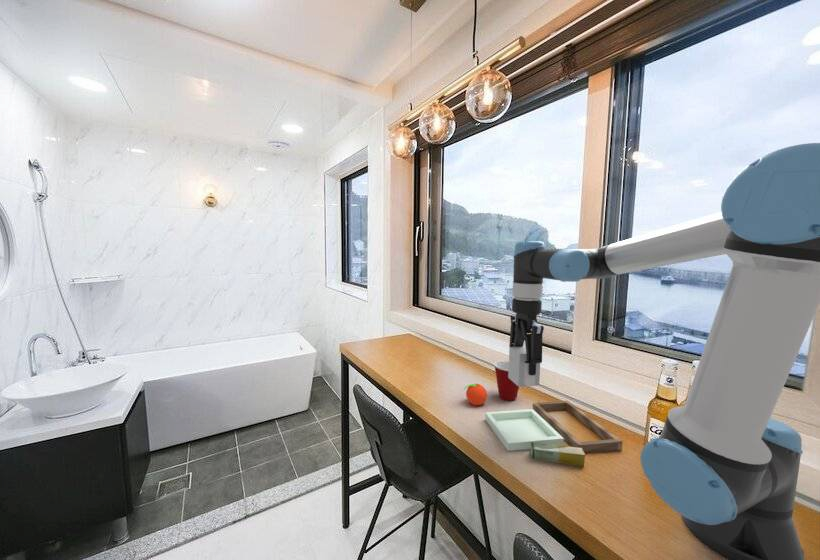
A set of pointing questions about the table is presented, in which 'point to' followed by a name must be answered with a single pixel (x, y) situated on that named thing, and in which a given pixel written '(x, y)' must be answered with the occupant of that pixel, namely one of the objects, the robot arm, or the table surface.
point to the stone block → (520, 366)
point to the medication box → (558, 453)
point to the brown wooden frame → (589, 446)
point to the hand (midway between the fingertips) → (523, 380)
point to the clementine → (476, 394)
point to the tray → (522, 429)
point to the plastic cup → (505, 381)
